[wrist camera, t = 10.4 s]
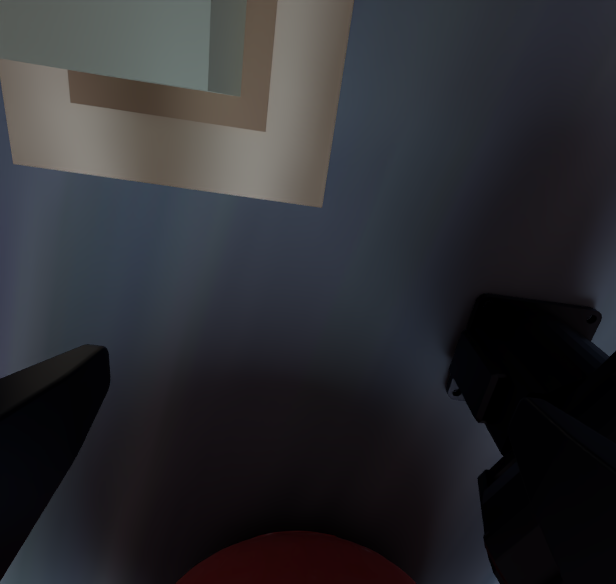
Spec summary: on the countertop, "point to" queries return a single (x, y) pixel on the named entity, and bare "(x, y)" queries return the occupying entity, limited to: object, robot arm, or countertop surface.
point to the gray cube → (131, 39)
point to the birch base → (198, 113)
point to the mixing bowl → (296, 562)
